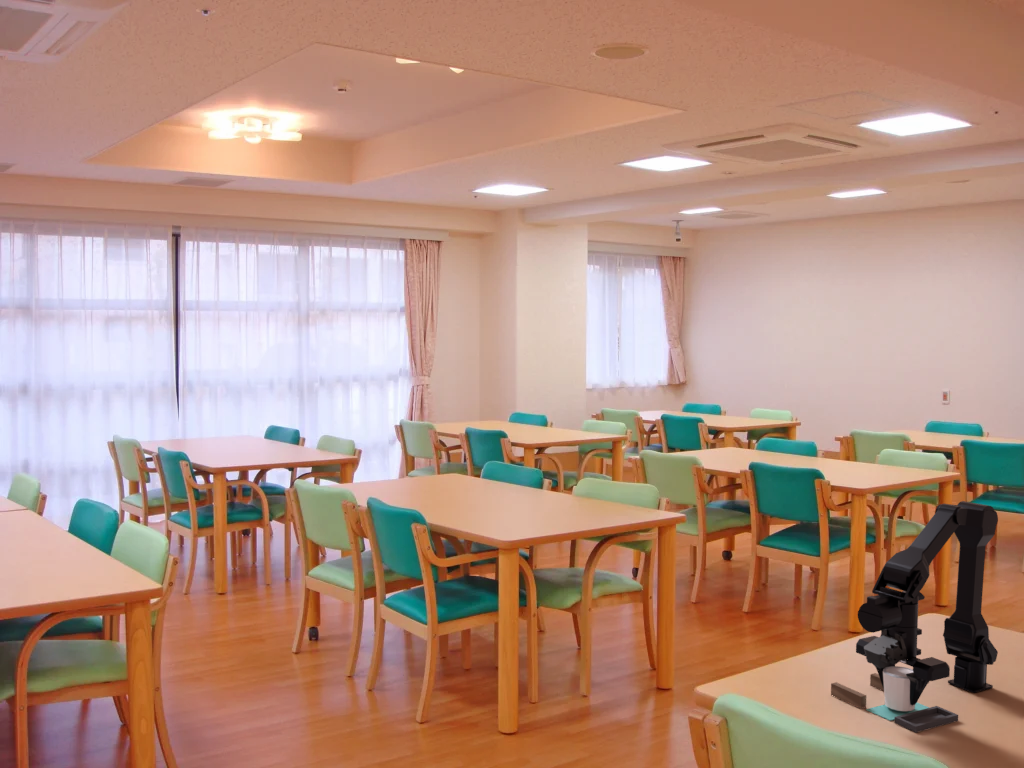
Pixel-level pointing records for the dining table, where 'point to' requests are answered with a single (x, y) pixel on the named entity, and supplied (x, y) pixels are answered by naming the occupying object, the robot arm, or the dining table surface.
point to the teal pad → (893, 711)
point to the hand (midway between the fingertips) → (899, 699)
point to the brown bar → (855, 692)
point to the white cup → (897, 688)
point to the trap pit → (926, 719)
